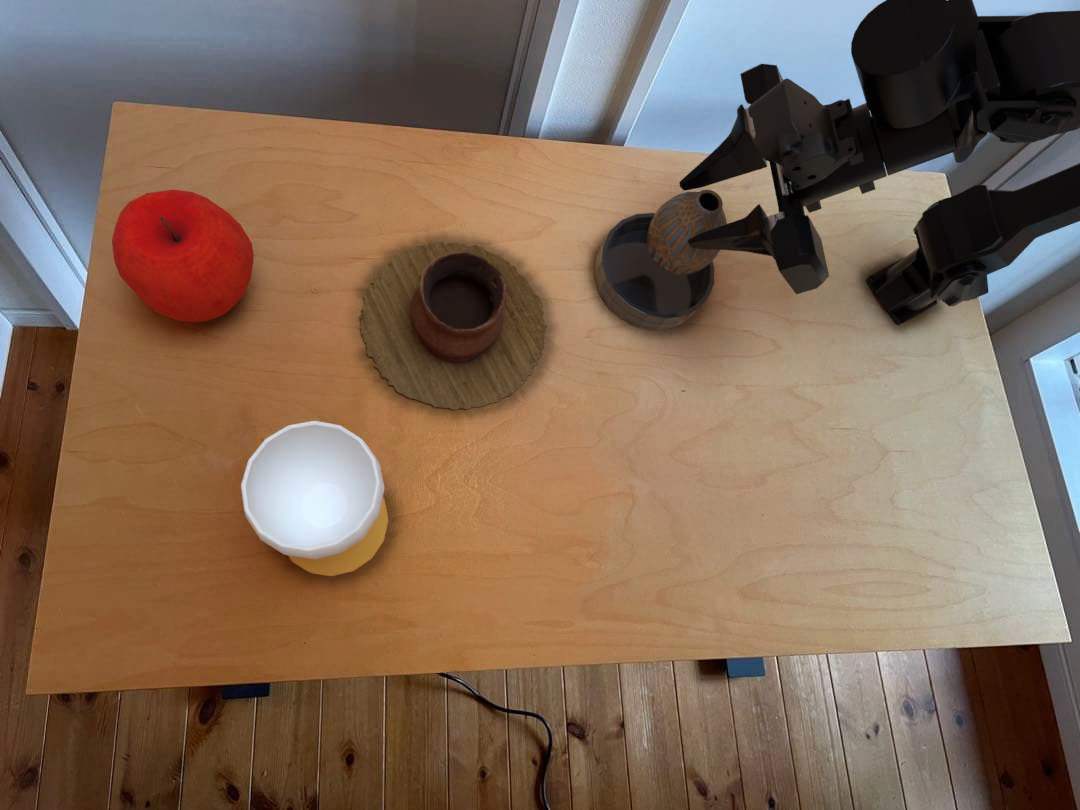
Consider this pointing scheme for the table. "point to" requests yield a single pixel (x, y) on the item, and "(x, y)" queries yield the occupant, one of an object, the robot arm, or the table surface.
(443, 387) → the ceramic pot
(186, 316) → the apple
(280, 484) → the cup
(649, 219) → the pan
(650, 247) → the vase
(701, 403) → the table surface
